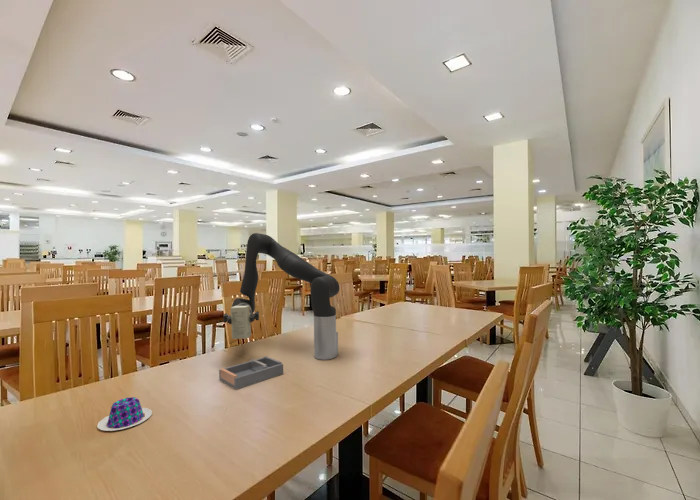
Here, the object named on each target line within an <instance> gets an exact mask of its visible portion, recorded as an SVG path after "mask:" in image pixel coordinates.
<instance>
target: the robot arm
mask: <svg viewBox="0 0 700 500" xmlns="http://www.w3.org/2000/svg"><path fill="white" fill-rule="evenodd" d="M246 243H247V244H246V251H245V252H246V254H245V261H244V262H245V264H244V273H243V278H242V280H241V285H240V290H239V292H240V295H241V294H242V295H243V296H246V297H248V299H245V298H240V297H237V298H235V299H234V300H233V302H232V305H231V307H234V306H250V323H251V324H252V323H253V322H254V321H255V320H256V321H259V320H260V311H259V310H258V311H257V310H256V301H255V300H256V291H257V287H258V284H259V272H258V268H257V259H258V255H259V254H263V255H264V254H265V255H267V256H269V257H271V258H272V259H274V260H275V262H276V264H277V266H278V267H279V268H280V270H282V271H283V272H285V274H287V275H288V276H290V277H292V278H294V279H298V280H301V281H304V282H307V283H309V284H310V302H311V309H312V312H313V346H314V347H313V349H314V353H313V356H314V358H315V359H317V360H322V361H323V360H325V361H326V360H327V361H328V360H332V359H334V358H336V357H337V356H339V332H338V331H337V310H336V307H334V306H332V305H331V300H330V298H333V297H335V296H337V295H338V294H339V293H340V284H339V281H338V279H336V277H334V276H333V275H330V274H328V273H326V272H325V271H322V270H321V269H318V268H317V267H315V266H313V264H311V263H309V262H308V261H306V260H305V259H303V258H302V257H301V256H299V255H297V254H296V253H295V252H292V251H291V250H289V249H287V248H286V247H284V246H283V245H282V244H280V243H279V242H277V240H275V239H274V237H272V236H270V235H268V234H264V233H263V234H262V233H259V232H254V233H252V234H251V235H249V237H248V239H247V242H246ZM222 320H223V323H225V324H226V323H227V324H228V325H231V314H230V315H229V314H228V313H224V314H223V318H222Z"/></svg>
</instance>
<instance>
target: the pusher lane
mask: <svg viewBox="0 0 700 500" xmlns="http://www.w3.org/2000/svg"><path fill="white" fill-rule="evenodd" d="M255 360H257V361H259V362H262V363H264V364H267V368H265V369H262V370H258V371H254V370H252V369H251V367H250V360H249V361H245V362H242V363H238V364H234V365H231V366H228V367H223V368H220V369H219V370H218V374H219V377H218V380H219V381H221V382H222V383H224V384H225V385H228V386H229V387H230V388H232V389H234V390H239V389H243V388H245V387H248V386H252V385H254V384H257V383H260V382H264V381H265V380H269V379H271V378H275V377H277V376H281V375H284V364H283V363H282V361H280V360H277V359H275V358H272V357H269V356H263V357H261V358H256V359H255Z"/></svg>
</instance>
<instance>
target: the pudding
mask: <svg viewBox="0 0 700 500" xmlns="http://www.w3.org/2000/svg"><path fill="white" fill-rule="evenodd" d="M143 413H145V417H144V414H143ZM152 414H153V411H152V410H151V409H150V408H147V407H142V404H141V402H140V399H138V398H137V397H135V396H133V397H124V398H120V399H118V400H117V401H115V402H113V403H112V405H111V407H110V412H109V415H107V416H105V417H104V418H102V419H101V420H99V421H98V423H97V426H96V427H97V429H98V430H100V431H108V432H109V431H110V432H113V431H119V430H124V429H128V428H131V427H133V426H137V425H139V424H142V423H144V422H145V421H146V420H148V419H149V418H150V417H151V416H152ZM138 421H139V422H138ZM135 422H136V423H135Z"/></svg>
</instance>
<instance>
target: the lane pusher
mask: <svg viewBox="0 0 700 500" xmlns="http://www.w3.org/2000/svg"><path fill="white" fill-rule="evenodd" d="M249 361H250V367H251V369H252V370H254V371H258V370H262V369H265V368H267V364H264V363H262V362H259V361H257V360H256V359H255V358H252V359H250V360H249Z"/></svg>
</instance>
